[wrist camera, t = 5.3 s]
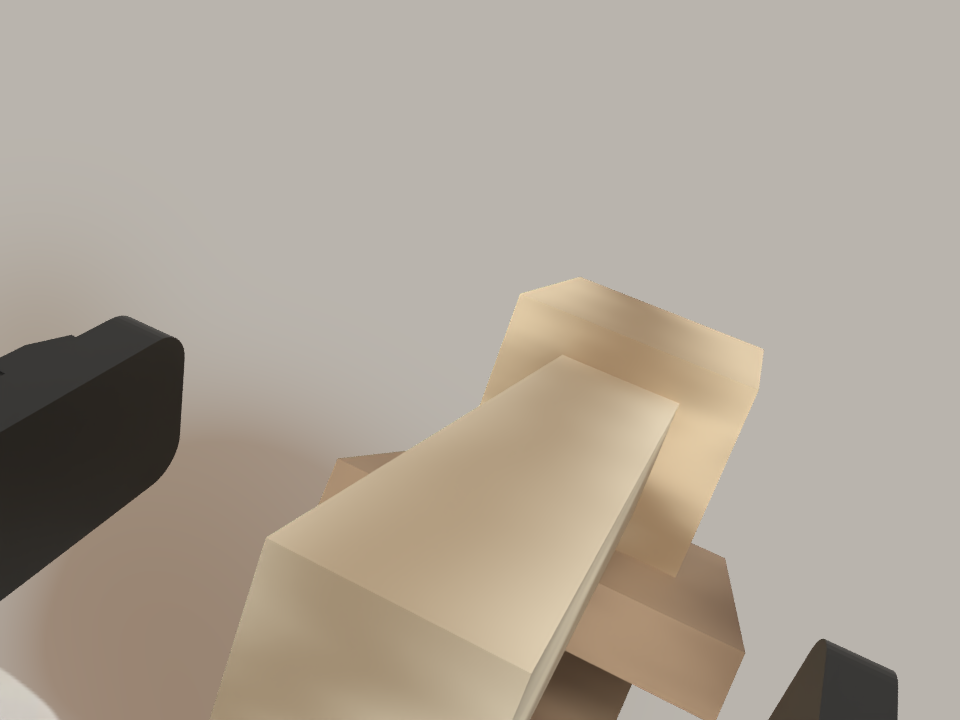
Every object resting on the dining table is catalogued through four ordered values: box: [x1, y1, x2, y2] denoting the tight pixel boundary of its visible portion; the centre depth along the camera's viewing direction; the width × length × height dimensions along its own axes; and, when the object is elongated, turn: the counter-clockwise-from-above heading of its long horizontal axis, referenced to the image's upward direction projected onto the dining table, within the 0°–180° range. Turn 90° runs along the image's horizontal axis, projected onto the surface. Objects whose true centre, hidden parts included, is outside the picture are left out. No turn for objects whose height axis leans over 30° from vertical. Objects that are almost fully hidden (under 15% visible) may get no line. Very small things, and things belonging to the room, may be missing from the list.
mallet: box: [210, 277, 764, 720], centre depth 19 cm, size 6×20×5 cm, turn 165°
